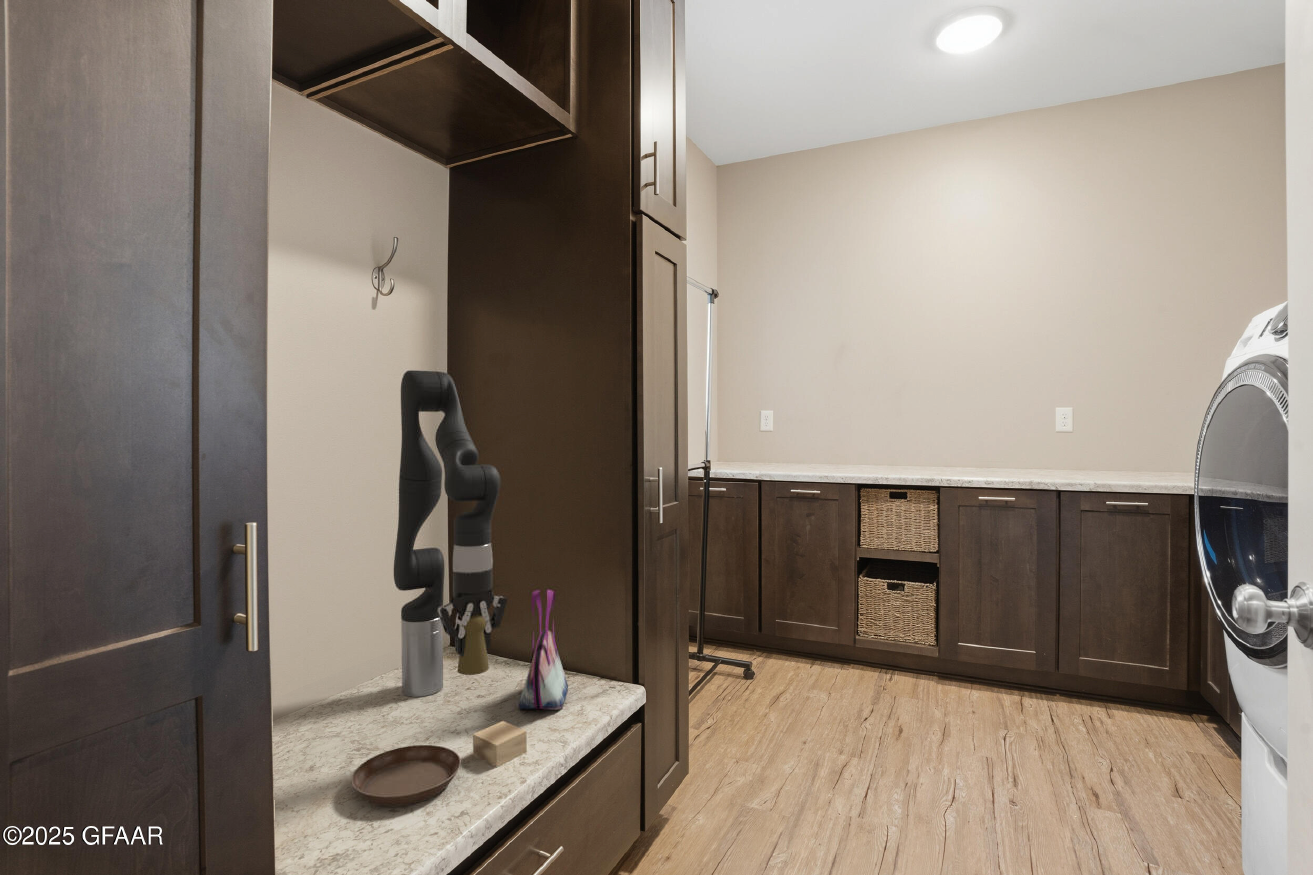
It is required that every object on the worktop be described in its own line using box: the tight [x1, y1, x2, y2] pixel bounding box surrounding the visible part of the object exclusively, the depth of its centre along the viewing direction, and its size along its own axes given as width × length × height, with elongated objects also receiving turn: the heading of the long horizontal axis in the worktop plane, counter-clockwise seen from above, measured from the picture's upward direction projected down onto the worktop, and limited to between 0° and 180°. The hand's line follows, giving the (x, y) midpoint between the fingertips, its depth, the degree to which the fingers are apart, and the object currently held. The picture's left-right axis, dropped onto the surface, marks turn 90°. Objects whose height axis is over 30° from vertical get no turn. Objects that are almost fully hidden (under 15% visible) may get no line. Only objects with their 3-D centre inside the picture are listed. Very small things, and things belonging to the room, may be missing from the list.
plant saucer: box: [350, 744, 462, 807], centre depth 113 cm, size 18×18×3 cm
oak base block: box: [472, 720, 528, 768], centre depth 123 cm, size 7×7×4 cm
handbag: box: [518, 589, 569, 711], centre depth 147 cm, size 21×10×25 cm, turn 1°
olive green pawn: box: [457, 615, 490, 676], centre depth 128 cm, size 6×6×11 cm
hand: (472, 652), depth 128 cm, fingers closed on olive green pawn, 4 cm apart
